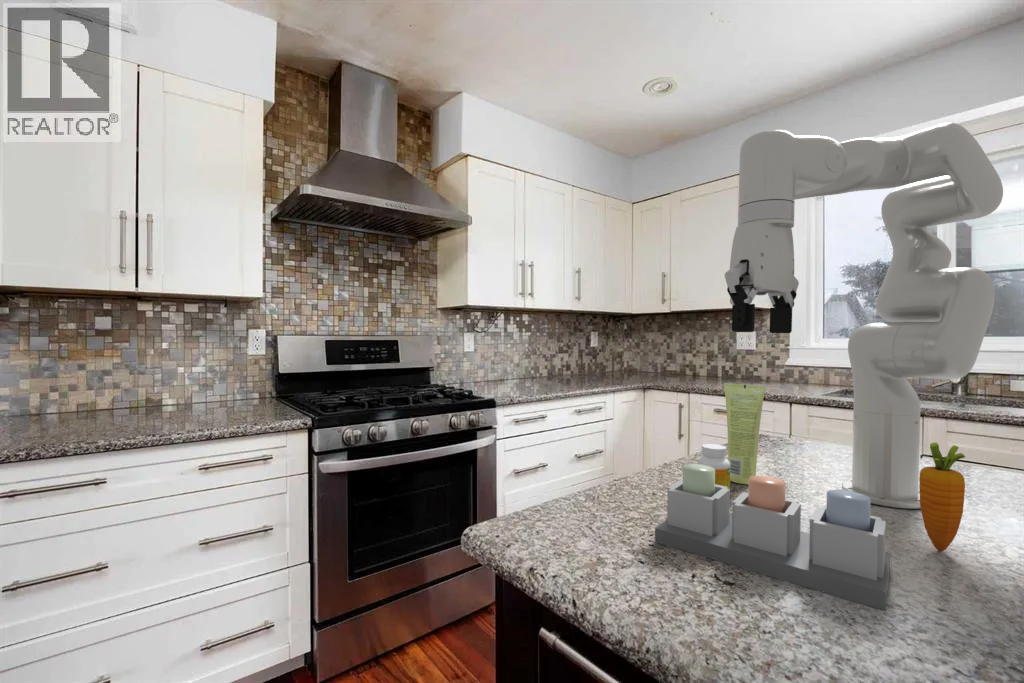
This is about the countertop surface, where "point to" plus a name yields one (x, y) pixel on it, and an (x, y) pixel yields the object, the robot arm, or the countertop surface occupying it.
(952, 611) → the countertop surface
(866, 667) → the countertop surface
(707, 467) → the button sage
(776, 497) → the button terracotta
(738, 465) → the tube
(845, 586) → the three-cup grey tray
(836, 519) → the button slate
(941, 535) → the carrot
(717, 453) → the supplement bottle
